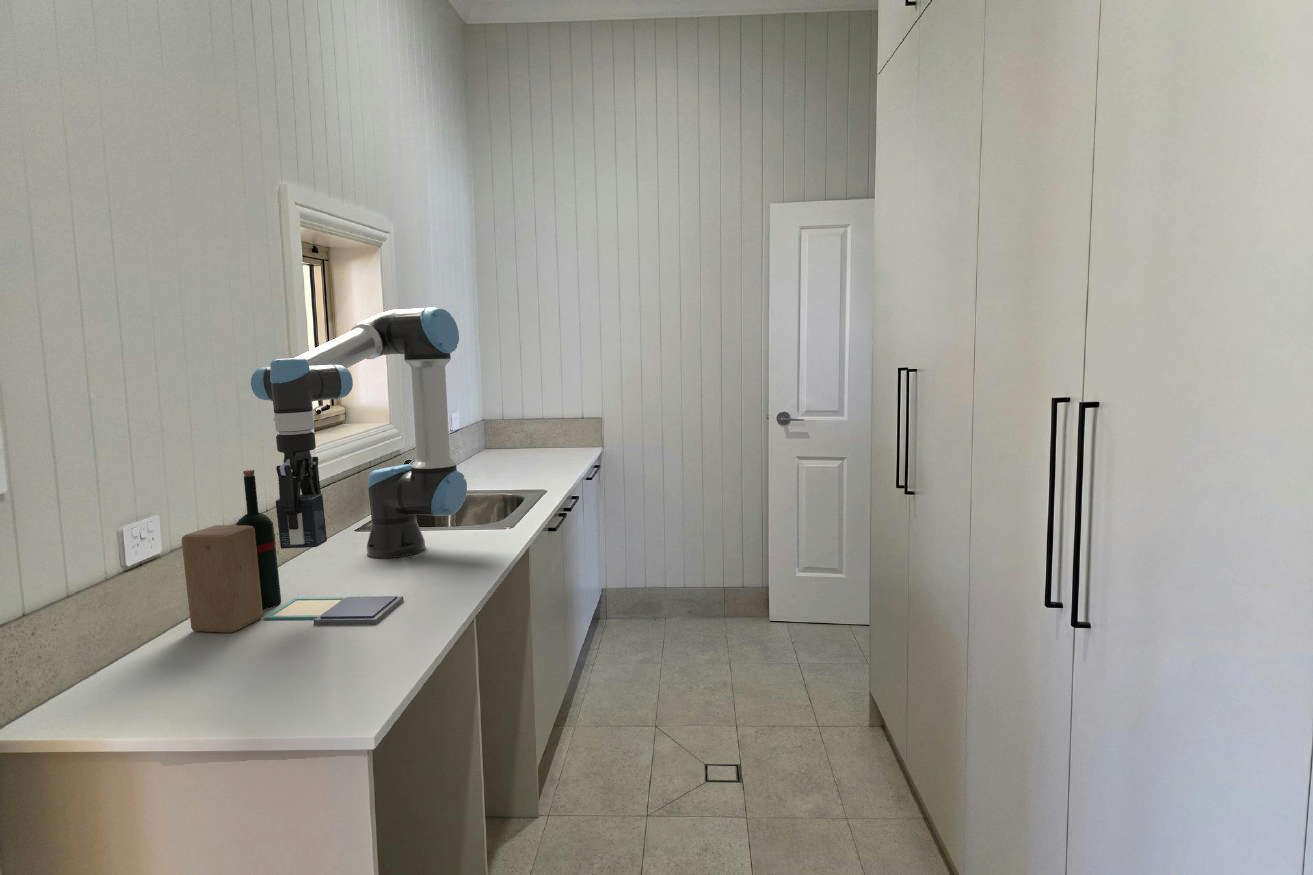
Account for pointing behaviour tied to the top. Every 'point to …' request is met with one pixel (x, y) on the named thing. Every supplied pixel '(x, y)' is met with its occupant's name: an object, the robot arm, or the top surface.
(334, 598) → the print frame
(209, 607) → the wooden block
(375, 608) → the ink pad
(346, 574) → the top surface
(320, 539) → the box
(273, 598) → the wine bottle
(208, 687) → the top surface
